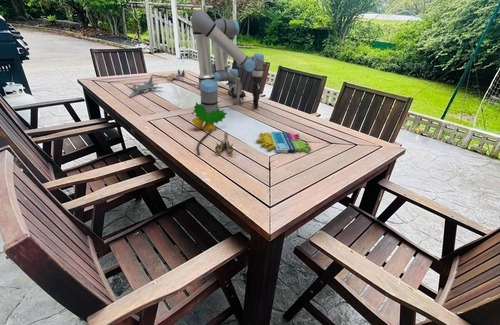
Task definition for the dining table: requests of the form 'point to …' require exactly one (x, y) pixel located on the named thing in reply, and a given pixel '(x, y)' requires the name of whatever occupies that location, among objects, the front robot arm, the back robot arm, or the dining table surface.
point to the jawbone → (224, 145)
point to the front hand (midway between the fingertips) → (255, 106)
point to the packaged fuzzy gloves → (283, 142)
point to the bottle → (238, 92)
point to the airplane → (143, 87)
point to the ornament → (207, 117)
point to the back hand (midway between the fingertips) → (238, 97)
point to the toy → (174, 76)
